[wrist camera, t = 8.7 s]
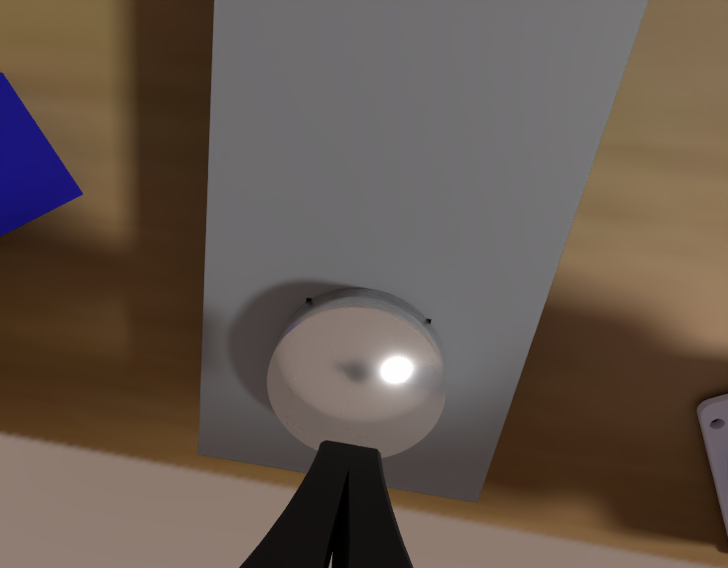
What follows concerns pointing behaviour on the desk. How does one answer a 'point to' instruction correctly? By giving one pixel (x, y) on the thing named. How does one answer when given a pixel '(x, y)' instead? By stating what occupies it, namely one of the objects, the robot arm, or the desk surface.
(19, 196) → the cable clip
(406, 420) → the headed pin
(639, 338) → the desk surface
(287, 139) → the grey flat block
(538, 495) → the desk surface
